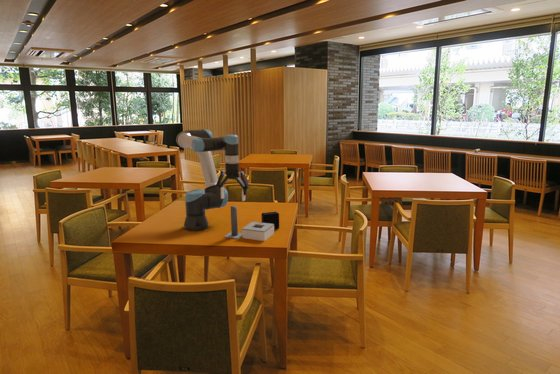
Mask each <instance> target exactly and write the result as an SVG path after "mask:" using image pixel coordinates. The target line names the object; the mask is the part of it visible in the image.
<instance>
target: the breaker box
mask: <svg viewBox="0 0 560 374" xmlns="http://www.w3.org/2000/svg"><path fill="white" fill-rule="evenodd" d="M241 233H242V237H241V238H242V239H244V240H245V239H248V240H252V241H253V240H254V241H262V242H263V241H264V242H265V241H267V240H268V239H270V237H272V236H273V235H274V234H275V229H274V224H270V223H262V221H261V222H259V221H251V222H250V223H248V224H247V225H245V226H244V227H242V228H241Z"/></svg>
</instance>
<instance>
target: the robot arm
mask: <svg viewBox="0 0 560 374" xmlns="http://www.w3.org/2000/svg"><path fill="white" fill-rule="evenodd" d="M175 142H176V144H177V145H178V146H179V147H180V148H182V149H191V150H192V151H193V153H197V156H198V159H199V164H200V168H201V172H202V176H203V179H204V180H203V181H204V184H205V188H204V189H202V188H196V189H192V190H189V191H187V192H186V193H185V194H184V195H185V196H184V203H185V219H184V223H183V229H184V230H186V231H190V232H196V231H198V232H199V231H203V230H206V229H208V228H209V227H210V226H209V224H210V222H209V221H208V218H207V216H206V210H207V211H208V210H212V209H214V210H215V209H220V208H224V207H226V206H227V204H228V201H229V194H228V190H227V188H225V186H224V185H225V184H226V183H227V181H229V180H235V181H237V183H238V184H239V186H240V187H241V201H242V202H244V201H246V195H247V194H248V193H247V192H248V191H247V190H248V189H250V188H251V187H250V184H249V182H248V179H247V177H246V176H245V171H239V170H240V165H239V164H240V163H239V162H240V160H239V136H238V135H237V134H225V135H224V136H218V137H214V136H213V133H212V131H210V130H209V129H204V128H202V129H187V130H186V129H185V130H182V131H181V132H179V133H178V134H177V136H176V139H175ZM218 151H224V162H225V165H224V166H225V170H224V169H223V170H220V174H219V176H218V174H217V170H216V169H217V168H216V166H215V162H214V158H213V154H212V152H218ZM225 175H226V176H225ZM224 176H225V178H224ZM218 177H219V178H218ZM223 178H224V179H223Z"/></svg>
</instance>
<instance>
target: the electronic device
mask: <svg viewBox="0 0 560 374" xmlns="http://www.w3.org/2000/svg"><path fill="white" fill-rule="evenodd" d="M261 223H270V224H274V230H278V229H280V213H279V212H278V211H269V212H262V213H261Z"/></svg>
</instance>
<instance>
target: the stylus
mask: <svg viewBox="0 0 560 374" xmlns="http://www.w3.org/2000/svg"><path fill="white" fill-rule="evenodd" d="M230 224H231V225H230V227H231V231H230V232H232V236H237V235H238V232H239V231H238V230H239V228H238V206H237V205H231V206H230Z"/></svg>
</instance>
